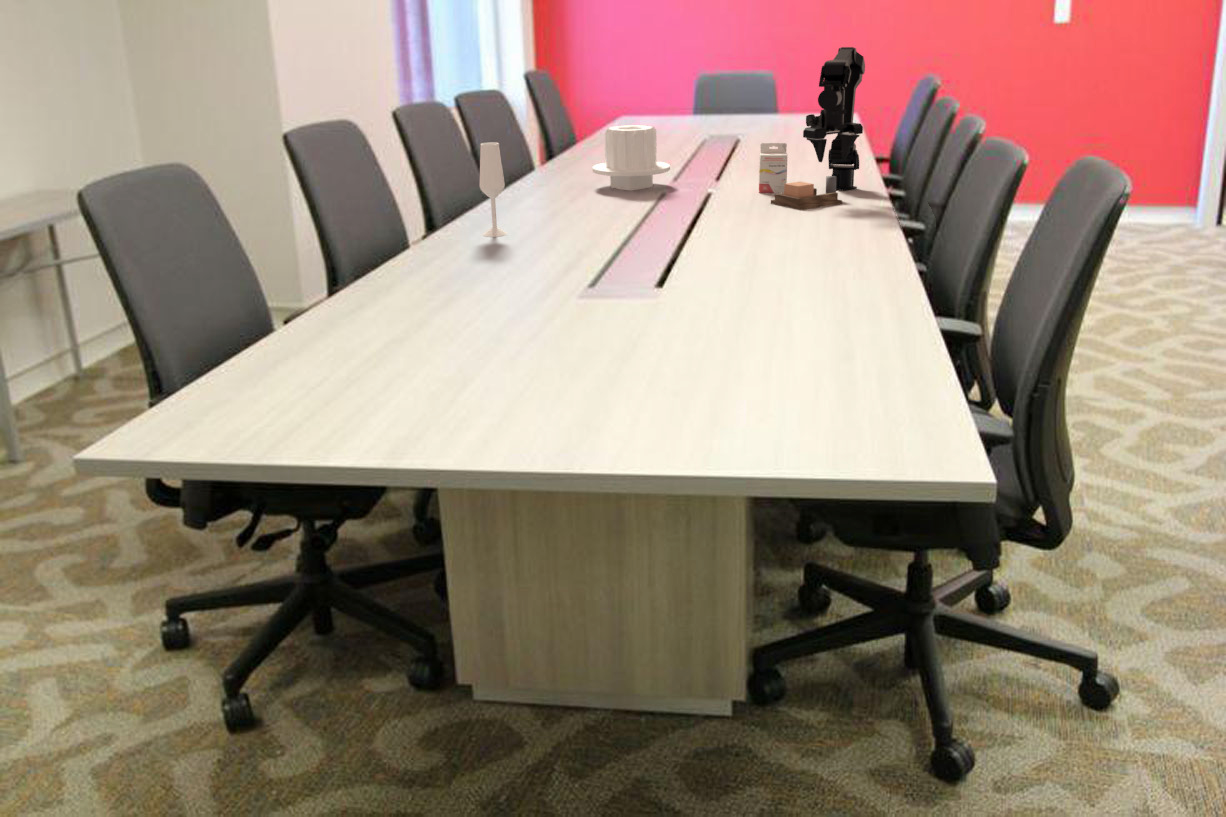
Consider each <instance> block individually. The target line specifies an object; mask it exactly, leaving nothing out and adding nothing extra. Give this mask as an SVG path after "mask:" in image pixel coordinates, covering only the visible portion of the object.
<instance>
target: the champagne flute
mask: <svg viewBox="0 0 1226 817" xmlns="http://www.w3.org/2000/svg"><path fill="white" fill-rule="evenodd" d="M500 151H501V150H500V143H499V142H496V141H495V142H494V141H493V142H482V143H480V153H479V154H480V155H479V156H480V157H479V189H480V191H482V193H483V194H484V195H486V196H487V198H490V206H491V207H490V208H491V210H490V211H491V221H492V222H491V223H492V227H491V228H489V229H488V230H486V231H485V232H484V233H483V234H482V236H483V237H490V238H493V237H495V238H496V237H497V238H498V237H504V236H506V235H507V236H508V232H506V231H504V230H503V229H501V228H499V227H498V224H497V207H496V206H497V205H496V204H497V203H496V199H497V198H498V197H499V195H501V193H502V192H503V191H504V189H505V187H506V186H505V185H506V184H505V177H504V176H505V175H504V171H503V169H504V168H503V164H502V158H501V152H500Z"/></svg>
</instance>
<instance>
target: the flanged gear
mask: <svg viewBox="0 0 1226 817" xmlns="http://www.w3.org/2000/svg"><path fill="white" fill-rule="evenodd" d="M604 145H605V146H604V151H605V154H604V156H605V162H602V163H598V164H597V163H596V164H595V165H592V173H594V174H596V175H601V176H607V177H608V176H609V177H610V179H609V181H610V188H611V189H617V190H623V191H626V192H627V191H628V192H634V191H639V190H644V189H650V188H653V186H654V185H653V184H654V183H653V178H654V177H653V175H659V174H660V175H661V174H665V173H668V172H669V171H671V164H669V163H667V162H663V161H657V160H658V158H657V129H656V128H655V127H654V126H650V125H642V124H640V125H639V124H636V125H635V124H632V125H628V124H627V125H617V126H616V125H615V126H610V127H607V128H606V129H605V132H604Z"/></svg>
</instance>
